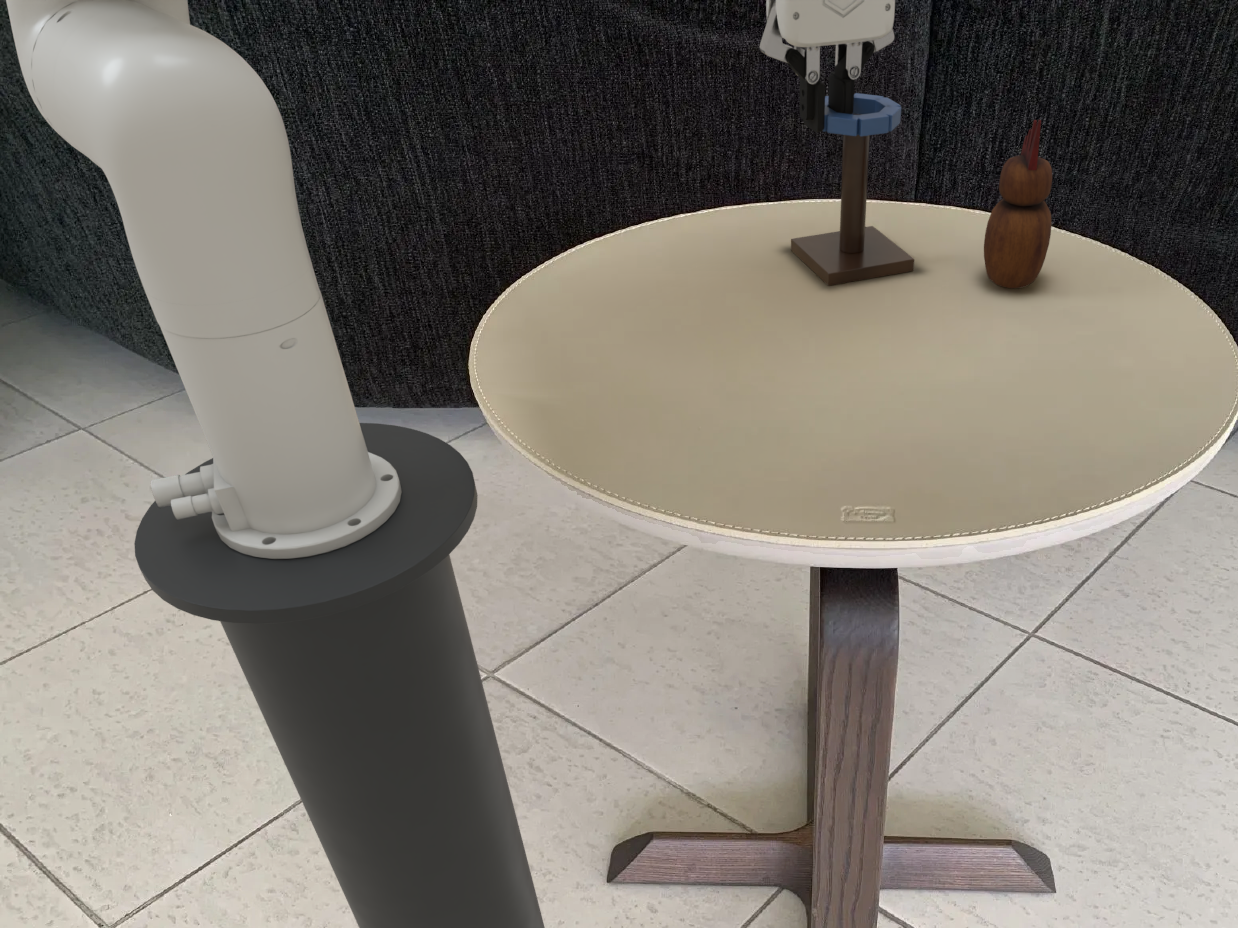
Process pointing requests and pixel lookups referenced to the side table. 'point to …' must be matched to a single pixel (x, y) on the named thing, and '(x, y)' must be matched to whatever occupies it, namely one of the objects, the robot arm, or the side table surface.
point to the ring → (864, 116)
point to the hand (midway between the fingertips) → (826, 124)
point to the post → (852, 231)
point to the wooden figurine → (1020, 218)
